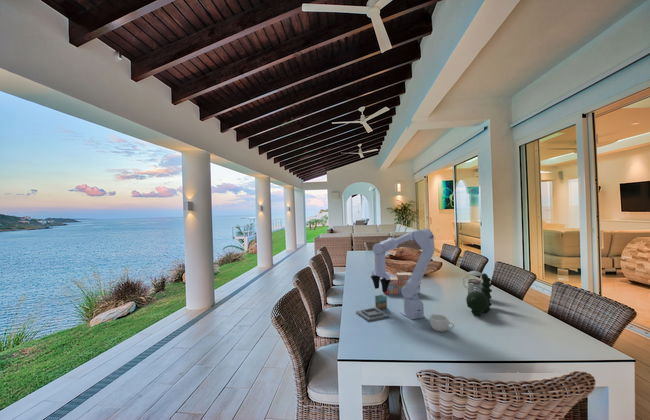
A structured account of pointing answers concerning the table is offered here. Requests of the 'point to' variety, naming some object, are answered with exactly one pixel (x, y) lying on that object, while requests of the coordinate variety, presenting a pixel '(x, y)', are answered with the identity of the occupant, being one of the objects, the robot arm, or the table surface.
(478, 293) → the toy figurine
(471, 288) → the french press
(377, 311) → the plate
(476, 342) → the table surface
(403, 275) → the stack of blocks
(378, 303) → the block stack
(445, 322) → the teacup
